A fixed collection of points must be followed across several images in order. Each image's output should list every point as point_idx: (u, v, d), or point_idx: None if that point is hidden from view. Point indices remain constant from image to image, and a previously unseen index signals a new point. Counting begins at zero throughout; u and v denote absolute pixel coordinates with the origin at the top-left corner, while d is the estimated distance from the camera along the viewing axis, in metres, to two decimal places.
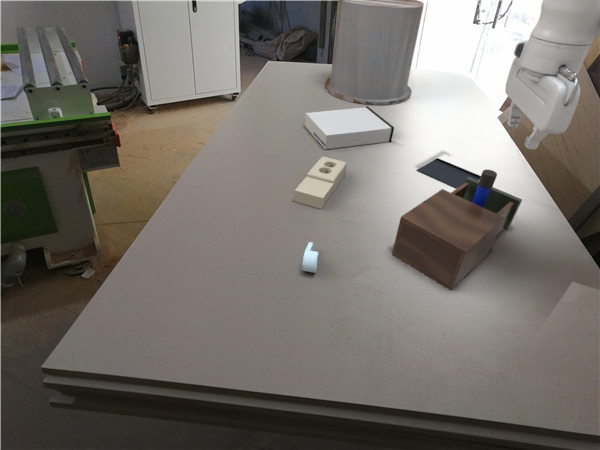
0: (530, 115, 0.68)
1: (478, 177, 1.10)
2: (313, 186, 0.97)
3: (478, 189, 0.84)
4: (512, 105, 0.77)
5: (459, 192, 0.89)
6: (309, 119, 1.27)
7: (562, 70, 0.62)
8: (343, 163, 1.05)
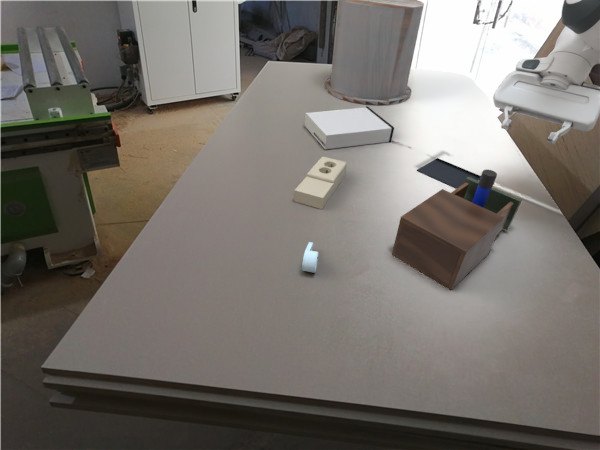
0: (561, 113, 0.81)
1: (478, 177, 1.10)
2: (313, 185, 0.97)
3: (478, 189, 0.84)
4: (509, 109, 0.87)
5: (459, 192, 0.89)
6: (309, 119, 1.27)
7: (589, 84, 0.81)
8: (343, 163, 1.05)
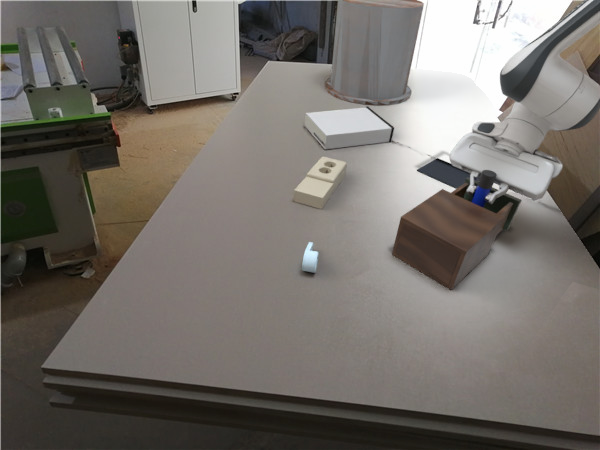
0: (512, 180, 0.81)
1: None
2: (313, 185, 0.97)
3: (477, 189, 0.84)
4: (474, 175, 0.86)
5: (459, 192, 0.89)
6: (309, 119, 1.27)
7: (541, 153, 0.81)
8: (343, 163, 1.05)
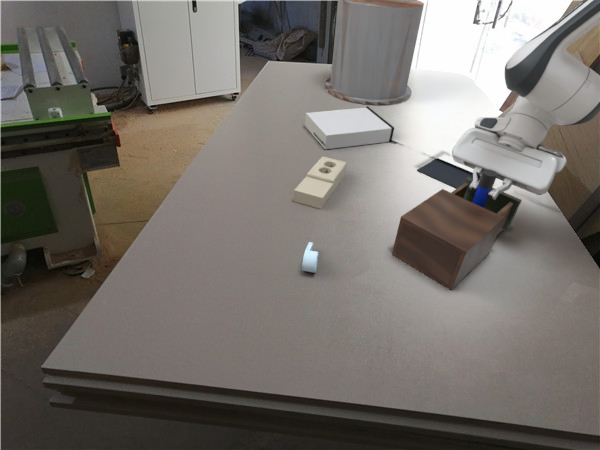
0: (515, 175, 0.80)
1: (478, 177, 1.10)
2: (313, 185, 0.97)
3: (478, 189, 0.83)
4: (477, 171, 0.85)
5: (459, 192, 0.89)
6: (309, 119, 1.27)
7: (545, 147, 0.80)
8: (343, 163, 1.05)
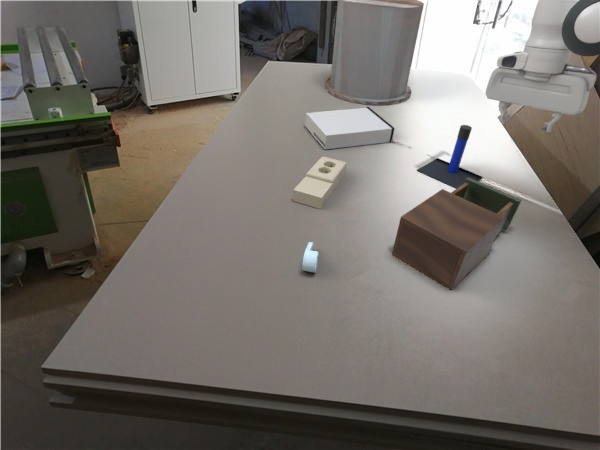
0: (548, 106, 0.86)
1: (478, 177, 1.10)
2: (312, 185, 0.97)
3: (457, 141, 1.06)
4: (502, 105, 0.93)
5: (459, 192, 0.89)
6: (309, 119, 1.27)
7: (571, 68, 0.82)
8: (343, 163, 1.05)
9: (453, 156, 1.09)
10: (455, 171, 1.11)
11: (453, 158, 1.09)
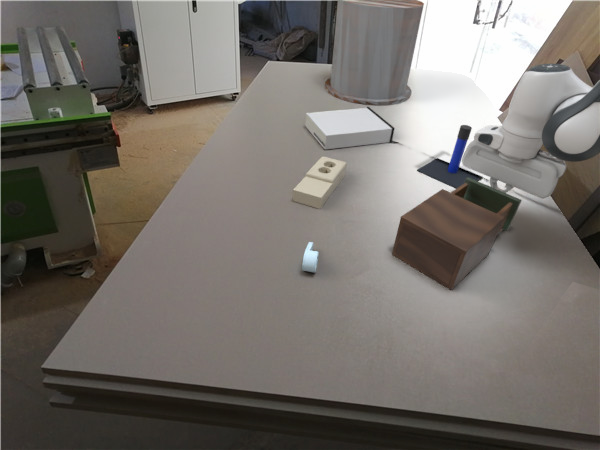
0: (519, 186, 0.88)
1: (478, 177, 1.10)
2: (312, 185, 0.97)
3: (457, 141, 1.06)
4: (493, 181, 0.93)
5: (458, 192, 0.89)
6: (309, 119, 1.27)
7: (544, 155, 0.84)
8: (343, 163, 1.05)
9: (453, 156, 1.09)
10: (455, 171, 1.11)
11: (453, 158, 1.09)
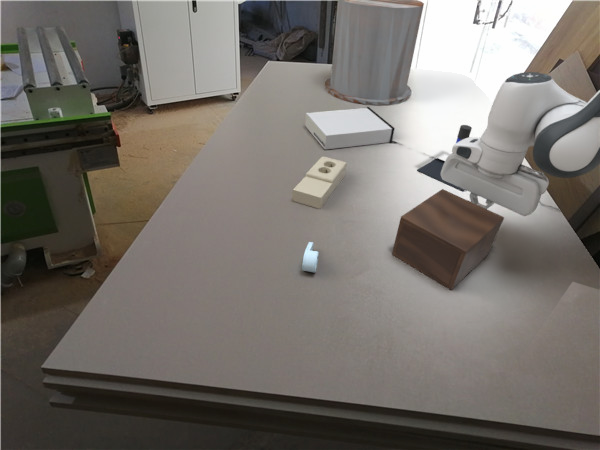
0: (500, 202, 0.83)
1: None
2: (312, 185, 0.97)
3: (457, 141, 1.06)
4: (473, 196, 0.88)
5: None
6: (309, 119, 1.27)
7: (525, 170, 0.78)
8: (343, 163, 1.05)
9: None
10: None
11: None
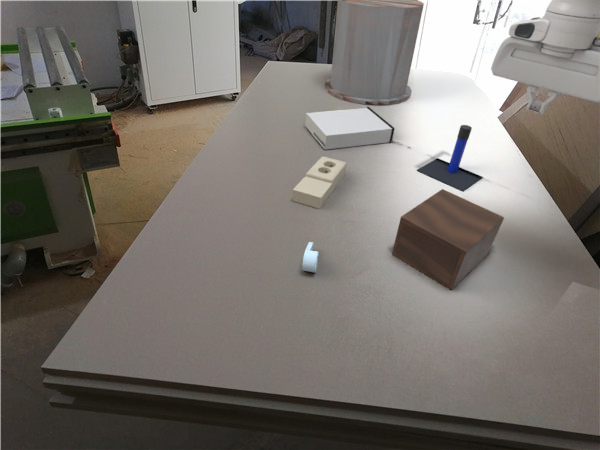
0: (567, 90, 0.70)
1: (478, 177, 1.10)
2: (311, 185, 0.97)
3: (457, 141, 1.06)
4: (532, 90, 0.75)
5: None
6: (309, 119, 1.27)
7: None
8: (343, 163, 1.05)
9: (453, 156, 1.09)
10: (455, 171, 1.11)
11: (453, 158, 1.09)
